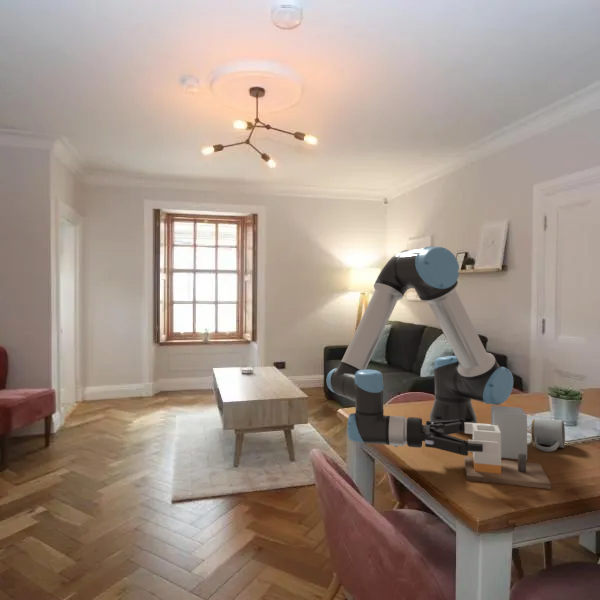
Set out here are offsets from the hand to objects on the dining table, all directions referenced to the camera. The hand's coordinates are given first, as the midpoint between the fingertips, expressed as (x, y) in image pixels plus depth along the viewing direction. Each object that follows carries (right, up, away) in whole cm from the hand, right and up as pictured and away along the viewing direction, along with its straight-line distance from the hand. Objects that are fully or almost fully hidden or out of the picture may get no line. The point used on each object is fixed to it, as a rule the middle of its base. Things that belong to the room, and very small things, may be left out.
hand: (494, 438), depth 109 cm
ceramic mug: (+24, -8, +18) cm, 31 cm away
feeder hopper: (+10, -8, +13) cm, 18 cm away
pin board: (+2, -9, 0) cm, 9 cm away
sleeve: (-2, -8, +1) cm, 8 cm away
